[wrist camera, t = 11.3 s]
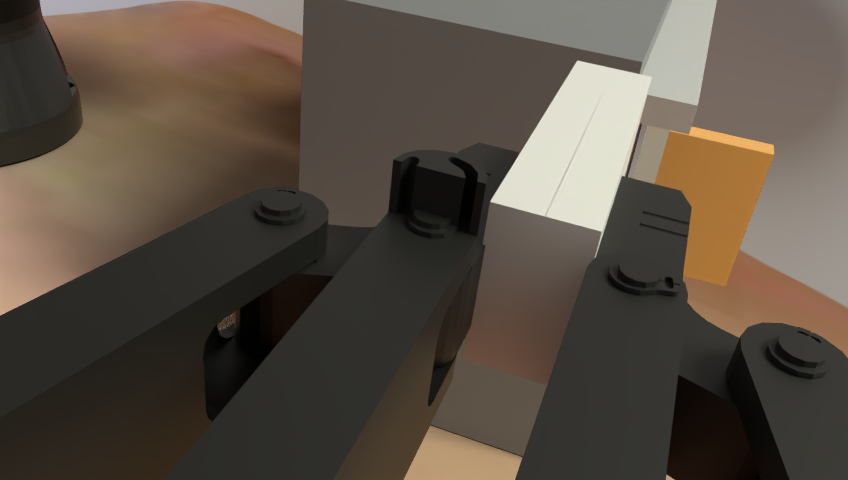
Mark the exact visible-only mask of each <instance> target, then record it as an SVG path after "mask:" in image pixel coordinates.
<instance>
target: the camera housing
mask: <svg viewBox="0 0 848 480" xmlns="http://www.w3.org/2000/svg"><path fill="white" fill-rule="evenodd" d="M716 1H717V0H304V15H303V52H302V88H301V125H300V161H299V190H300V191H303V192H306V193H309V194H312V195H314V196H315V197H317V198H319V199H320V200H322V201H323V202H324V203H325V205H326V207H327V209H328V210H329V217H328V224H329V225H340V226H351V227H376V226H377V225H378V223H379V222H380V221H381V220H382V219H383V217H384V216H385V215H386V214H387V213H388V209H389V198H390V188H391V178H392V168H393V159H395V158H397V157H398V156H400V155H402V154H403V153H407V152H412V151H416V150H440V151H447V152H453V153H456V154H457V153H458V152H459V151H460V150H462V149H465V148H467V147H470V146H472V145H474V144H477V143H479V142H480V143H484V144H488V145H492V146H496V147H500V148H504V149H508V150H512V151H516V152H520V153H521V151H522V149H523V148H524V146H525V144H526V143H527V141H528V140H529V138H530V136H531V135H532V133H533V132H534V130H535V128H536V127H537V125H538V123H539V122H540V120H541V119H542V117H543V115H544V114H545V112H546V111H547V109H548V107H549V106H550V104H551V102H552V101H553V99H554V98H555V96H556V94H557V93H558V91H559V90H560V88H561V86H562V85H563V83H564V81H565V80H566V78H567V77H568V75H569V73H570V72H571V70H572V68H573V67H574V65H575V64H576V62H577V61H582V62H586V63H591V64H595V65H600V66H605V67H609V68H614V69H618V70H623V71H627V72H632V73H637V74H641V75H646V76H650V77H652V80H651V83H650V87H649V90H648V94H647V98H646V101H645V105H644V108H643V112H642V116H641V119H640V123H639V126H638V130H637V134H636V137H635V141H634V144H633V148H632V152H631V155H630V159H629V162H628V166H627V170H626V173H625V177H628V174H629V171H630V167H631V163H632V159H633V156H634V152H635V148H636V144H637V141H638V137H639V133H640V129H641V126H642V124H644V125H649V126H653V127H658V128H662V129H666V130H671V131H675V132H680V133H684V134H688V135H689V133H690V129H691V126H692V123H693V120H694V116H695V113H696V109H697V106H698V101H699V95H700V90H701V84H702V79H703V74H704V68H705V62H706V57H707V51H708V45H709V40H710V34H711V29H712V23H713V18H714V12H715V7H716ZM465 340H466V337H465V339H464V341H463V343H462V345H461V347H460V349H459V351H458V353H457V356H456V362H455V368H454V374H453V380H452V382H451V384H450V386H449V388H448V390H447V392H446V394H445V396H444V398H443V400H442V402H441V404H440V406H439V408H438V410H437V412H436V414H435V416H434V418H433V420H432V422H431V425H433V426H436V427H439V428H442V429H444V430H447V431H450V432H453V433H456V434H459V435H462V436H465V437H468V438H471V439H474V440H476V441H479V442H482V443H485V444H488V445H491V446H494V447H497V448H500V449H503V450H506V451H508V452H511V453H514V454H517V455H520V456H523V455H524V452H525V449H526V446H527V443H528V440H529V437H530V434H531V431H532V428H533V426H534V423H535V420H536V417H537V414H538V411H539V408H540V405H541V402H542V399H543V396H544V393H545V390H546V387H547V385H544V384H541V383H538V382H535V381H532V380H528V379H525V378H522V377H519V376H516V375H513V374H510V373H507V372H503V371H500V370H497V369H494V368H491V367H488V366H485V365H481V364H478V363H475V362H472V361H469V360H466V359H463V358H462V357H463V351H464V346H465Z"/></svg>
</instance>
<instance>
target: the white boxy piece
mask: <svg viewBox="0 0 848 480" xmlns="http://www.w3.org/2000/svg"><path fill="white" fill-rule="evenodd" d="M773 156H774V147H773V145H771V144H767V143H762V142H758V141H753V140H749V139H744V138H740V137H735V136H731V135H726V134H722V133H718V132H713V131H708V130H704V129H700V128H695V127H691V129H690V133H689V135H688V134H684V133H680V132H675V131H671V130H666V129H662V128H658V127H653V126H649V125H647V129H646V133H645V136H644V140H643V144H642V147H641V151H640V155H639V158H638V162H637V166H636V169H635V173H634V177H633V179H637V180H641V181H645V182H649V183H653V184H657V185H661V186H665V187H669V188H673V189H677V190H681V191H682V193H683V194H684V196H685V198H686V199H687V201H688V202H689V204H690V205H691V207H692V210H691V218H690V224H689V233H688V238H687V239H688V241H687V249H686V256H685V264H684V272H683V276H687V277H691V278H694V279H698V280H702V281H706V282H709V283H713V284H717V285H720V286H724V287H725V286H726V283H727V281H728V278H729V275H730V273H731V270H732V267H733V264H734V262H735V259H736V256H737V254H738V251H739V248H740V245H741V243H742V240H743V237H744V235H745V232H746V229H747V227H748V224H749V221H750V218H751V216H752V213H753V210H754V208H755V205H756V202H757V200H758V197H759V194H760V192H761V189H762V186H763V183H764V181H765V178H766V175H767V173H768V170H769V167H770V164H771V162H772V159H773Z"/></svg>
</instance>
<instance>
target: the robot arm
mask: <svg viewBox="0 0 848 480" xmlns="http://www.w3.org/2000/svg"><path fill="white" fill-rule="evenodd" d="M651 80H652V77H650V76H646V75H641V74H637V73H632V72H627V71H623V70H618V69H614V68H609V67H605V66H600V65H595V64H591V63H586V62H582V61H577V62H576V64H575V65H574V67H573V68H572V70H571V72H570V73H569V75H568V77H567V78H566V80H565V81H564V83H563V85H562V86H561V88H560V90H559V91H558V93H557V94H556V96H555V98H554V99H553V101H552V102H551V104H550V106H549V107H548V109H547V111H546V112H545V114H544V115H543V117H542V119H541V120H540V122H539V123H538V125H537V127H536V128H535V130H534V132H533V133H532V135H531V136H530V138H529V140H528V141H527V143H526V144H525V146H524V148H523V149H522V151H521V153H520V152H516V151H512V150H508V149H504V148H500V147H496V146H492V145H488V144H484V143H480V142H479V143H477V144H474V145H472V146H470V147H467V148H465V149H462V150H460V151H459V152H458V153H457V154H456V153H453V152H447V151H440V150H416V151H412V152H407V153H403V154H402V155H400V156H398V157H397V158H395V159H393V168H392V178H391V188H390V198H389V209H388V213H387V214H386V215H385V216H384V217H383V219H382V220H381V221H380V222H379V223H378V225H377V226H376V227H351V226H340V225H329V224H328V217H329V210H328V209H327V207H326V205H325V203H324V202H323V201H322V200H320V199H319V198H317V197H315V196H314V195H312V194H309V193H306V192H303V191H300V190H297V189H293V188H289V189H287V188H284V187H276V188H272V189H262V190H258V191H255V192H252V193H249V194H246V195H244V196H242V197H240V198H238V199H236V200H234V201H232V202H230V203H228V204H226V205H224V206H221V207H219V208H217V209H215V210H213V211H211V212H209V213H207V214H205V215H203V216H201V217H199V218H197V219H195V220H193V221H191V222H189V223H187V224H185V225H183V226H181V227H179V228H177V229H175V230H173V231H171V232H169V233H167V234H165V235H163V236H161V237H159V238H157V239H155V240H153V241H151V242H149V243H147V244H145V245H142V246H140V247H138V248H136V249H134V250H132V251H130V252H128V253H126V254H124V255H122V256H120V257H118V258H116V259H114V260H112V261H110V262H108V263H106V264H104V265H102V266H100V267H98V268H96V269H94V270H92V271H90V272H88V273H86V274H84V275H82V276H80V277H78V278H76V279H74V280H72V281H70V282H68V283H65V284H63V285H61V286H59V287H57V288H55V289H53V290H51V291H49V292H47V293H45V294H43V295H41V296H39V297H37V298H35V299H33V300H31V301H29V302H27V303H25V304H23V305H21V306H19V307H17V308H15V309H13V310H11V311H9V312H7V313H5V314H3V315H1V316H0V480H403V479H404V477H405V475H406V473H407V471H408V469H409V467H410V465H411V463H412V461H413V459H414V457H415V455H416V453H417V451H418V449H419V447H420V445H421V443H422V441H423V439H424V437H425V435H426V433H427V431H428V429H429V427H430V425H431V422H432V420H433V418H434V416H435V414H436V412H437V410H438V408H439V406H440V404H441V402H442V400H443V398H444V396H445V394H446V392H447V390H448V388H449V386H450V384H451V382H452V380H453V374H454V368H455V362H456V356H457V353H458V351H459V349H460V347H461V345H462V343H463V341H464V339H465V337H466V340H465V346H464V351H463V357H462V358H463V359H466V360H469V361H472V362H475V363H478V364H481V365H485V366H488V367H491V368H494V369H497V370H500V371H503V372H507V373H510V374H513V375H516V376H519V377H522V378H525V379H528V380H532V381H535V382H538V383H541V384H544V385H547V387H546V390H545V393H544V396H543V399H542V402H541V405H540V408H539V411H538V414H537V417H536V420H535V423H534V426H533V428H532V431H531V434H530V437H529V440H528V443H527V446H526V449H525V452H524V455H523V458H522V461H521V464H520V467H519V470H518V473H517V476H516V479H515V480H666V474H667V475H668V476H670V477H672V478H673V479H675V480H848V358H847V357H846V356H845V354H844V353H843V352H842V351H841V350H839V349H838V348H836V347H835V346H834V345H832V344H831V343H830V342H828V341H827V340H826V339H824V338H823V337H821V336H819V335H817V334H815V333H811V331H808V330H806V329H803V328H800V327H794V326H791V325H787V324H783V323H760V324H756V325H753V326H750V327H748V328H747V329H746V330H745V331H744V333H743V334H742V335H741V336H740V338H738V337H736V336H734V335H732V334H730V333H728V332H726V331H724V330H722V329H720V328H718V327H717V326H715V325H713V324H711V323H710V322H708V321H706V320H705V319H704V318H703V317H701V316H700V315H699V314H698V313H696V312H695V311H694V310H693V308H692V307H691V306H690V305H689V304H688V303H687V298H688V293H687V289H686V285H685V283H684V282H683V281H682V280H683V272H684V264H685V256H686V249H687V241H688V239H687V238H688V233H689V224H690V218H691V210H692V207H691V205H690V204H689V202H688V201H687V199H686V198H685V196H684V194H683V193H682V191H681V190H677V189H673V188H669V187H665V186H661V185H657V184H653V183H649V182H645V181H641V180H637V179H632V178H628V177H625V173H626V170H627V166H628V162H629V159H630V155H631V152H632V148H633V144H634V141H635V137H636V134H637V130H638V126H639V123H640V119H641V116H642V112H643V108H644V105H645V101H646V98H647V94H648V90H649V87H650V83H651ZM81 125H82V111H81V103H80V95H79V91H78V88H77V86H76V84H75V82H74V80H73V79H72V77H71V76H70V75H68V73H67V71H66V68H65V65H64V62H63V60H62V57H61V55H60V53H59V50H58V48H57V46H56V44H55V42H54V40H53V38H52V36H51V34H50V32H49V30H48V28H47V26H46V23H45V21H44V19H43V16H42V12H41V7H40V1H39V0H0V166H1V165H6V164H11V163H15V162H19V161H22V160H26V159H29V158H32V157H35V156H38V155H41V154H44V153H46V152H48V151H51V150H53V149H55V148H57V147H59V146H61V145H62V144H64V143H65V142H67V141H68V140H70V139H71V138H72V137H73V136H74V135H75V134H76V133H77V132H78V131H79V129H80V128H81ZM233 312H234V323H233V324H232V325H230V326H229V327H227V328H226V329H224V330H221V331H218V328H217V324H218V323H219V322H220V321H222V320H223V319H224V318H225V317H227V316H228V315H230V314H231V313H233Z"/></svg>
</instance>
